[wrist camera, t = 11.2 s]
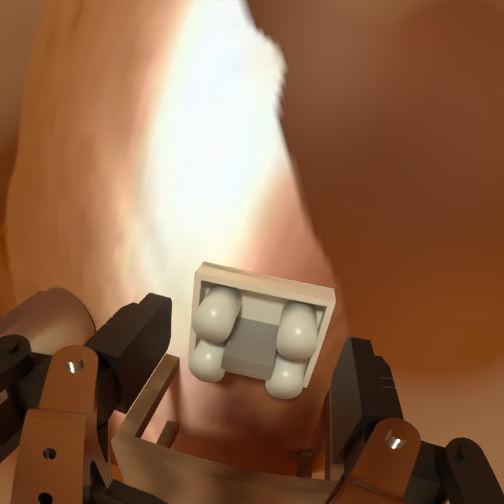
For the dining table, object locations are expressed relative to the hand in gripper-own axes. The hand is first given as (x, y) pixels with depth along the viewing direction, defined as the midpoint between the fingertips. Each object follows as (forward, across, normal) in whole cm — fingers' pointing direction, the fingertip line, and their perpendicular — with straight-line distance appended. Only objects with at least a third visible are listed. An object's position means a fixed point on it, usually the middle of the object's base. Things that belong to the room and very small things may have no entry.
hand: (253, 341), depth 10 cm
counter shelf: (+18, 0, +24) cm, 30 cm away
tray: (+18, +1, +10) cm, 20 cm away
